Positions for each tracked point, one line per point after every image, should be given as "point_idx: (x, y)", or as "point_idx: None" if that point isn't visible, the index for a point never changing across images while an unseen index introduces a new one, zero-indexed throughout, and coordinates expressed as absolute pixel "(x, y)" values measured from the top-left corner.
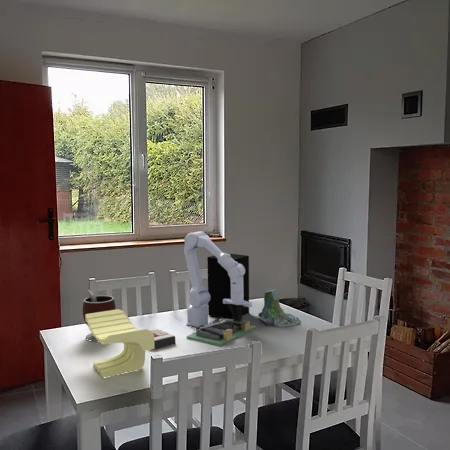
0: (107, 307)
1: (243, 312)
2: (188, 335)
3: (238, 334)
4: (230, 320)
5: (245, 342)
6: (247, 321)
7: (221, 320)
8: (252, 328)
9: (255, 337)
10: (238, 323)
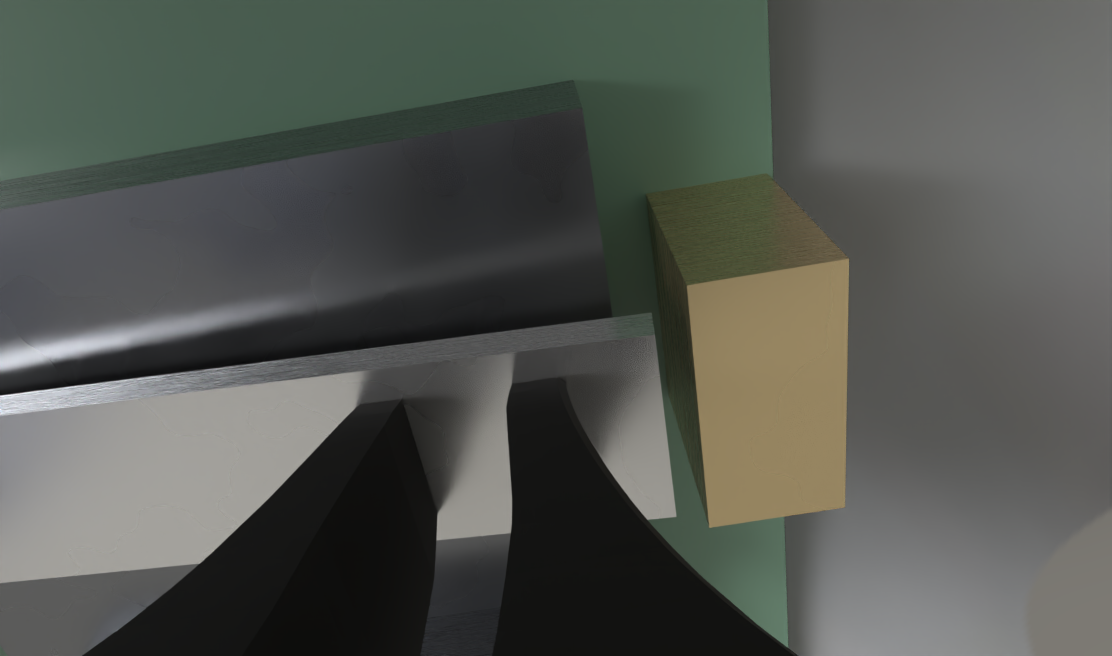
0: None
1: (661, 544)
2: None
3: (769, 568)
4: (249, 514)
5: (1018, 629)
6: (782, 307)
7: (7, 573)
8: (764, 28)
9: (1073, 368)
10: (441, 330)
